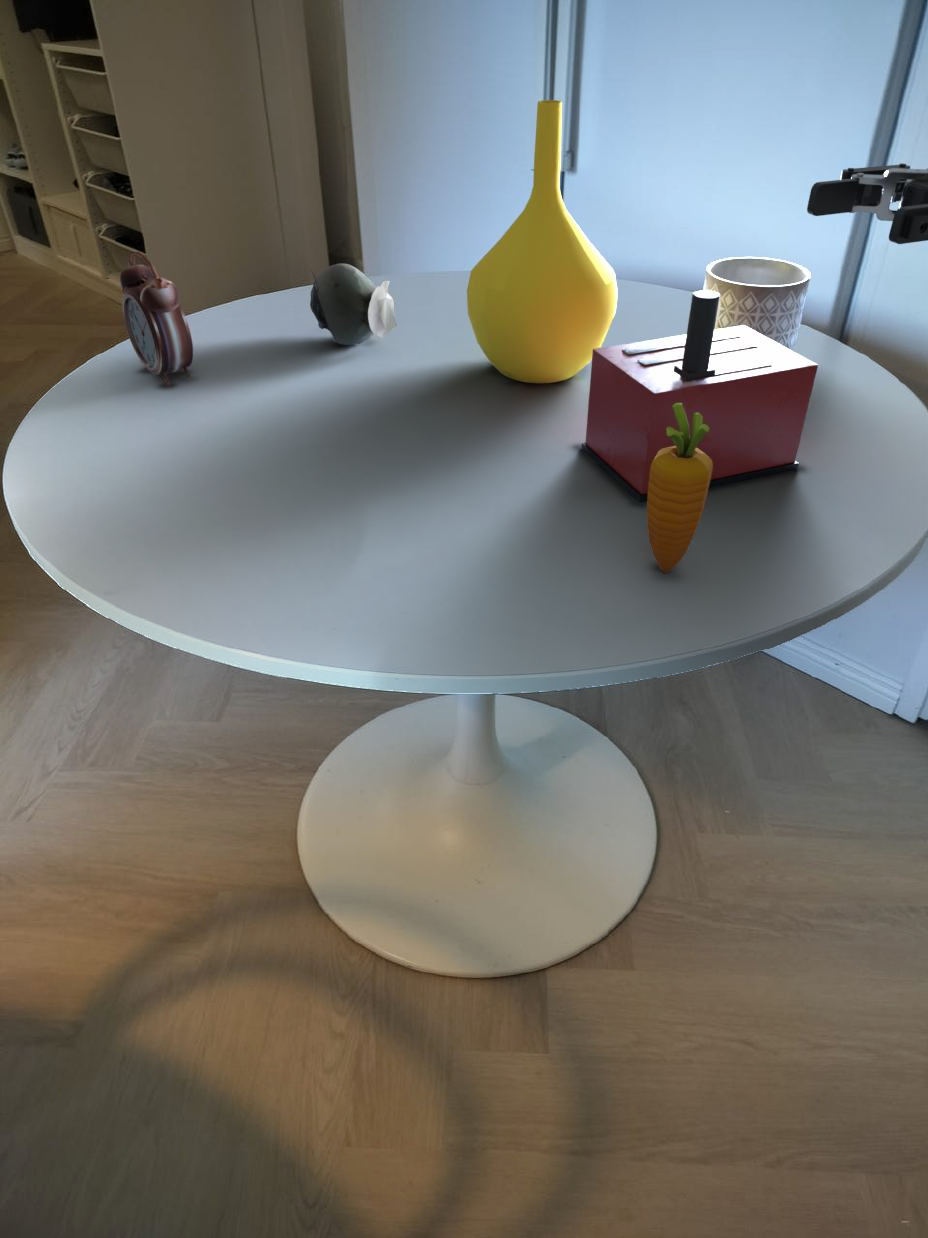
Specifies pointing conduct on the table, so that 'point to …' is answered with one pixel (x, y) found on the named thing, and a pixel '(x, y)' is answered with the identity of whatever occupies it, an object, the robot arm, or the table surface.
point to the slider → (699, 336)
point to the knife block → (698, 406)
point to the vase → (542, 280)
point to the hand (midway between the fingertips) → (851, 212)
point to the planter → (760, 296)
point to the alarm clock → (155, 319)
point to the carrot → (677, 491)
